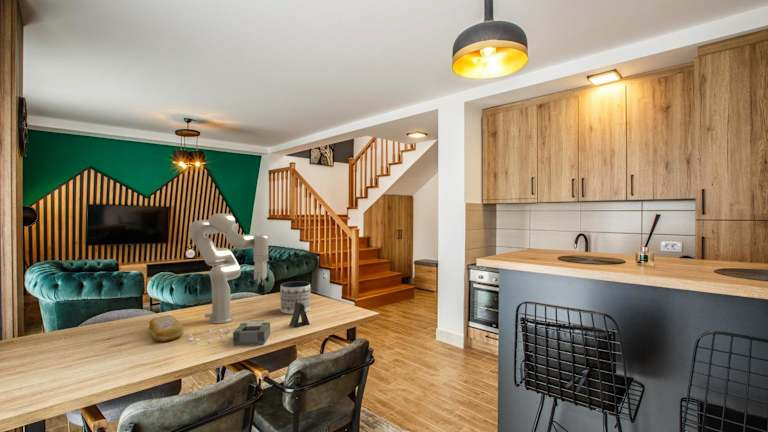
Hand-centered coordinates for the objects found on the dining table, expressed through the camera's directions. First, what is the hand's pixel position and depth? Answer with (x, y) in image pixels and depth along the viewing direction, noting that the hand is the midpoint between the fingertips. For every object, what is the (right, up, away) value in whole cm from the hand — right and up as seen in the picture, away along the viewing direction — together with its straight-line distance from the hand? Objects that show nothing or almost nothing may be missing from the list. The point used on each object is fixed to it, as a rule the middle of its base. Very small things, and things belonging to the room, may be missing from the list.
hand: (261, 292), depth 196 cm
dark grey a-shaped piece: (+19, -19, +5) cm, 28 cm away
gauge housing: (+2, -19, -18) cm, 27 cm away
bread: (-44, -19, -11) cm, 50 cm away
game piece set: (-21, -20, -15) cm, 32 cm away
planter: (+10, -18, +33) cm, 39 cm away
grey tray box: (+1, -17, -13) cm, 22 cm away
